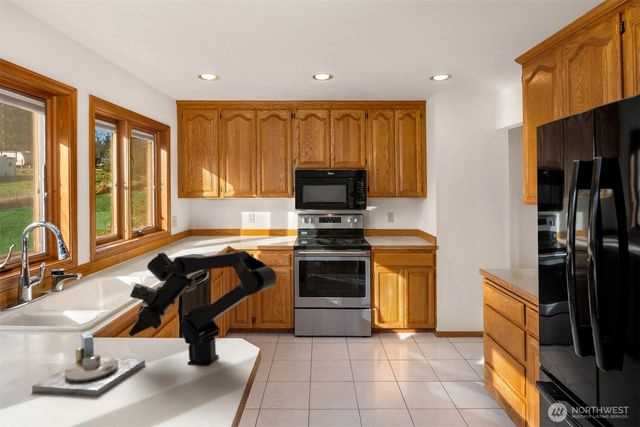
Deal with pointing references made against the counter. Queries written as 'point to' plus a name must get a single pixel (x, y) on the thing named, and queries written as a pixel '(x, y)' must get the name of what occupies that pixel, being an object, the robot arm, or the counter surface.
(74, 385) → the locating plate
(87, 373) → the flange
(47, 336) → the counter surface
